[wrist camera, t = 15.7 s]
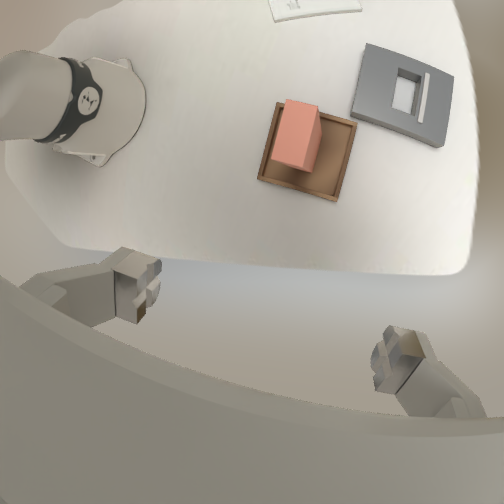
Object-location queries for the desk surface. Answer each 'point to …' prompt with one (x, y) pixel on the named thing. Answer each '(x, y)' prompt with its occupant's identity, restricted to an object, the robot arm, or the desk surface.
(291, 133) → the pink rectangular bar
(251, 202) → the desk surface
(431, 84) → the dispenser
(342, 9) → the external hard drive
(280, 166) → the tray
